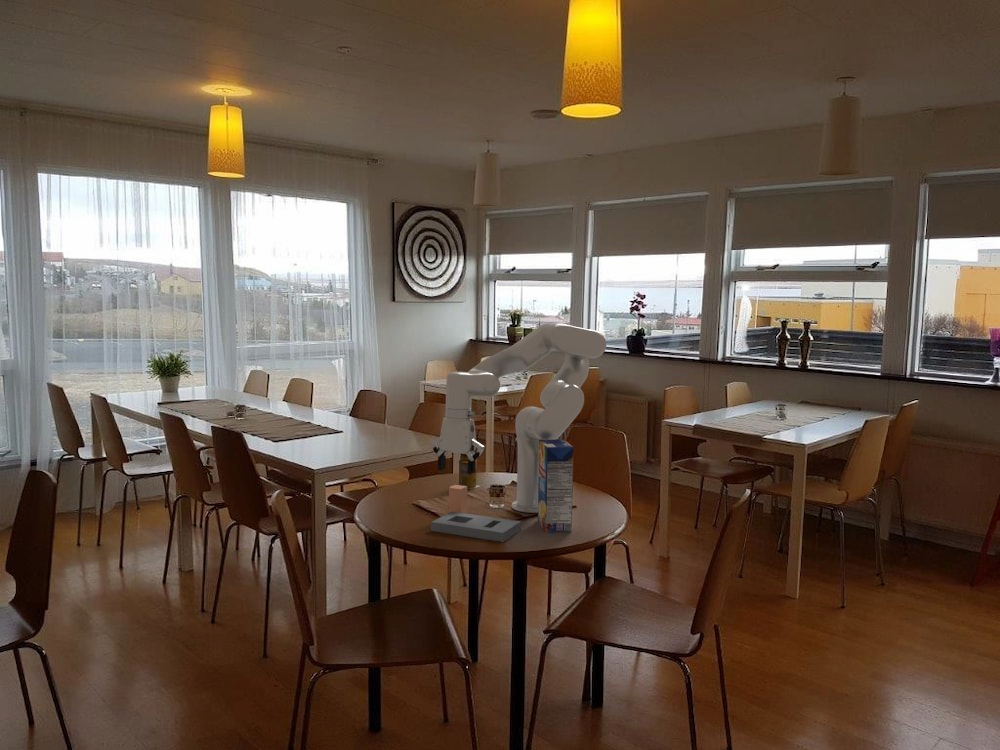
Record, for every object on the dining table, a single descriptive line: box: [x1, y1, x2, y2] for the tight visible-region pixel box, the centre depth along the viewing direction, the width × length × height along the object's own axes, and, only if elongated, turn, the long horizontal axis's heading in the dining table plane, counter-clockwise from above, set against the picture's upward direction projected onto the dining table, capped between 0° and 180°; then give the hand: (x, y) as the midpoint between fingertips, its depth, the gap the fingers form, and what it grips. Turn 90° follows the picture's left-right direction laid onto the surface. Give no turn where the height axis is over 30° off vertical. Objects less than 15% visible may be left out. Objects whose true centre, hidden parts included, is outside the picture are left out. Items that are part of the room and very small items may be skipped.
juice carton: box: [537, 439, 575, 534], centre depth 217 cm, size 12×8×24 cm, turn 7°
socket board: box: [430, 512, 522, 543], centre depth 213 cm, size 12×22×2 cm, turn 65°
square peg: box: [448, 484, 468, 514], centre depth 226 cm, size 4×4×9 cm
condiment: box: [449, 453, 482, 490], centre depth 263 cm, size 7×8×12 cm
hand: (456, 471), depth 225 cm, fingers open, 9 cm apart
